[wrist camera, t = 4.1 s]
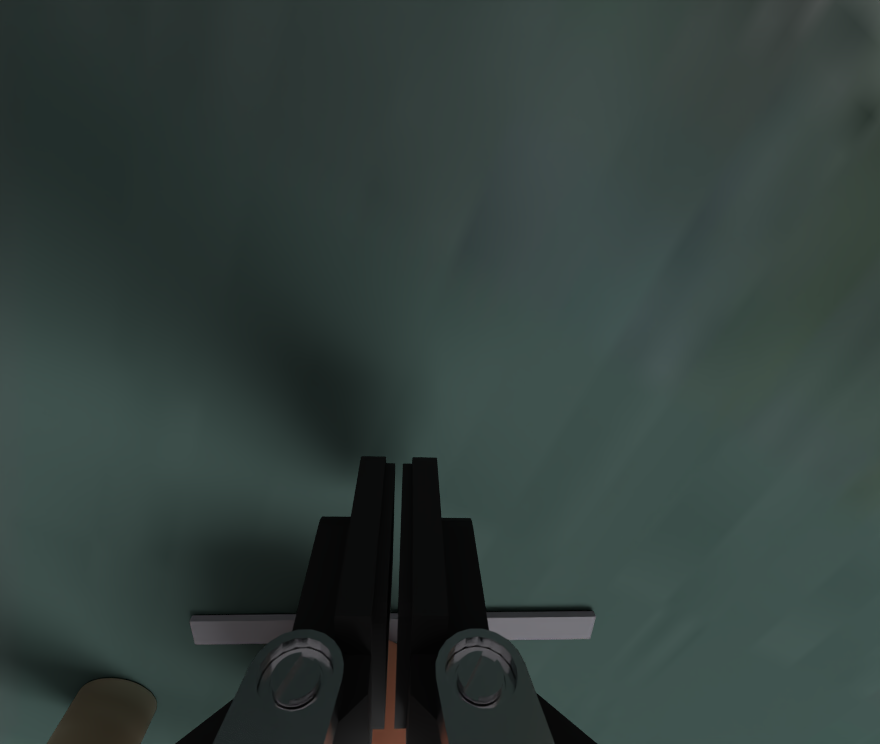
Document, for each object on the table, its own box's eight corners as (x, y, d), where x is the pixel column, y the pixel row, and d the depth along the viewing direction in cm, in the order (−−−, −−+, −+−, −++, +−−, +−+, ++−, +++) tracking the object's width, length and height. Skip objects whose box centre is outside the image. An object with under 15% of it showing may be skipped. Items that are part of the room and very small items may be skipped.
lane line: (593, 610, 15) (595, 616, 15) (587, 633, 15) (589, 638, 15) (192, 615, 14) (189, 621, 14) (198, 638, 14) (195, 644, 14)
